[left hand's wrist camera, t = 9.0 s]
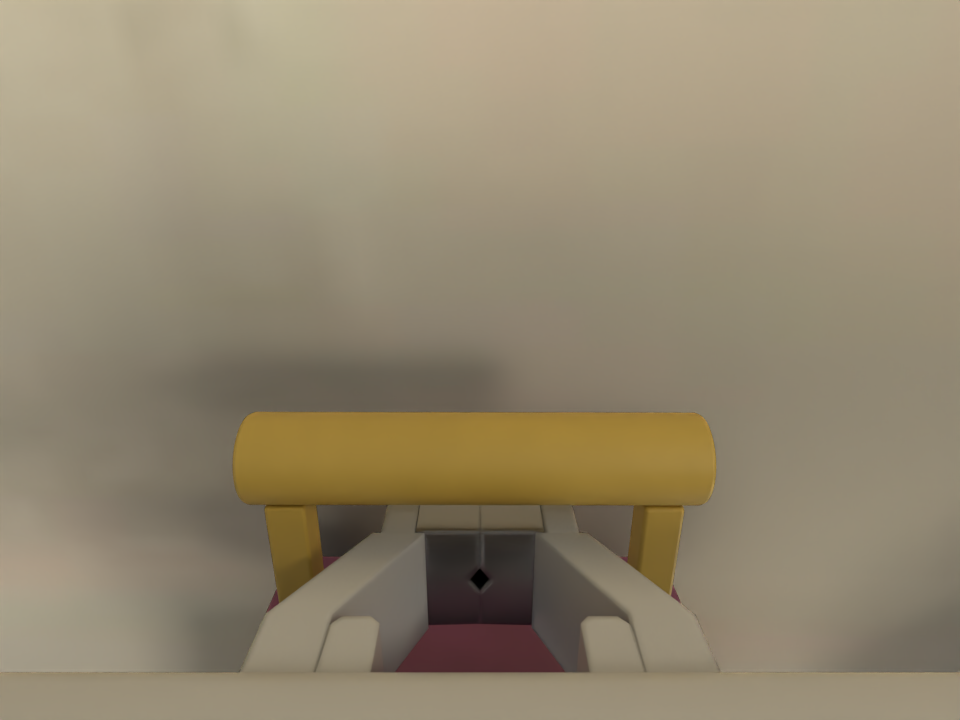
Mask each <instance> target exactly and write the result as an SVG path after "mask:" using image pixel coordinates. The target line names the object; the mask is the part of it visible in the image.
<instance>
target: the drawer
mask: <svg viewBox="0 0 960 720" xmlns="http://www.w3.org/2000/svg"><path fill="white" fill-rule="evenodd" d="M715 478H716V454H715V447H714V441H713V437H712V434H711V431H710V428H709V426H708V424H707V422H706V420H705V419H704V418H703V417H702V416H701V415H699V414H696V413H613V412H254V413H251V414H249V415H248V416H246V417H245V419H244V420H243V421H242V423H241V425H240V428H239V430H238V433H237V436H236V440H235V445H234V451H233V479H234V485H235V489H236V492H237V495H238V497H239V498H240V499H241V501H243V502H244V503H246V504H249V505H266V506H265V509H264V511H265V518H266V524H267V530H268V536H269V543H270V549H271V555H272V562H273V568H274V574H275V581H276V587H277V589H276V591H275V594H274V596H273V598H272V600H271V603H270V605H269V607H268V610H267V612H268V611H270V610H271V609H272V608H274V607H275V606H276V605H278V604H279V603H280V602H282V601H283V600H284V599H286V598H287V597H288V596H290V595H291V594H292V593H294V592H295V591H296V590H298V589H299V588H300V587H301V586H303V585H304V584H305V583H307V582H308V581H309V580H311V579H312V578H313V577H315V576H316V575H317V574H319V573H320V572H321V571H323V570H324V569H325V568H327V567H328V566H329V565H331V564H332V563H333V562H335V561H336V560H337V559H339V558H340V557H326V556H322V549H321V541H320V532H319V524H318V515H317V507H316V505H634V510H633V518H632V527H631V535H630V543H629V552H628V557H620V558H621V559H623V560H624V561H625V562H627V563H628V564H629V565H631V566H632V567H633V568H634V569H636V570H637V571H638V572H640V573H641V574H642V575H644V576H645V577H646V578H648V579H649V580H650V581H652V582H653V583H654V584H656V585H657V586H658V587H660V588H661V589H662V590H663V591H665V592H666V593H667V594H669V595H670V596H671V597H673V598H674V599H675V600H677V601H678V602H679V603H681V602H680V600H679V598H678V595H677V593H676V590H675V588H674V586H673V580H674V574H675V567H676V561H677V555H678V548H679V542H680V536H681V529H682V523H683V516H684V508H683V506H682V505H702V504H704V503H706V502H707V501H708V500H709V499H710V497H711V495H712V492H713V489H714V484H715ZM267 612H266V613H267ZM395 672H565V671H564V670H563V668H562V667H561V666H560V664H559V663H558V662H557V660H556V659H555V658H554V656H553V655H552V654H551V652H550V651H549V650H548V649H547V647H546V646H545V645H544V643H543V642H542V641H541V639H540V638H539V637H538V635H537V634H536V633H535V632H534V630H533V629H532V625H504V624H455V625H428V630H427V631H426V632H425V633H424V635H423V636H422V637H421V639H420V640H419V641H418V643H417V644H416V645H415V646H414V648H413V649H412V650H411V652H410V653H409V654H408V656H407V657H406V658H405V659H404V661H403V662H402V663H401V665H400V666H399V667H398V669H397V670H396V671H395Z"/></svg>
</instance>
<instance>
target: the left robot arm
mask: <svg viewBox="0 0 960 720" xmlns="http://www.w3.org/2000/svg"><path fill="white" fill-rule="evenodd" d="M455 624H504V625H532V629H533V630H534V632H535V633H536V634H537V635H538V637H539V638H540V639H541V641H542V642H543V643H544V645H545V646H546V647H547V649H548V650H549V651H550V652H551V654H552V655H553V656H554V658H555V659H556V660H557V662H558V663H559V664H560V666H561V667H562V668H563V670H564V671H565V672H395V671H396V670H397V669H398V667H399V666H400V665H401V663H402V662H403V661H404V659H405V658H406V657H407V656H408V654H409V653H410V652H411V650H412V649H413V648H414V646H415V645H416V644H417V643H418V641H419V640H420V639H421V637H422V636H423V635H424V633H425V632H426V631H427V630H428V625H455ZM0 720H960V672H720V669H719V667H718V665H717V662H716V660H715V658H714V656H713V653H712V651H711V649H710V647H709V644H708V642H707V640H706V638H705V635H704V633H703V631H702V629H701V626H700V624H699V622H698V619H697V617H696V615H695V614H694V613H692V612H691V611H690V610H689V609H687V608H686V607H685V606H683V605H682V604H681V603H679V602H678V601H677V600H675V599H674V598H673V597H671V596H670V595H669V594H667V593H666V592H665V591H663V590H662V589H661V588H660V587H658V586H657V585H656V584H654V583H653V582H652V581H650V580H649V579H648V578H646V577H645V576H644V575H642V574H641V573H640V572H638V571H637V570H636V569H634V568H633V567H632V566H631V565H629V564H628V563H627V562H625V561H624V560H623V559H621V558H620V557H619V556H617V555H616V554H615V553H613V552H612V551H611V550H609V549H608V548H607V547H606V546H604V545H603V544H602V543H600V542H599V541H598V540H596V539H595V538H594V537H592V536H591V535H590V534H588V533H579V530H578V526H577V522H576V518H575V514H574V510H573V506H572V505H388V506H387V510H386V514H385V518H384V522H383V526H382V530H381V533H372V534H370V535H369V536H368V537H366V538H365V539H364V540H362V541H361V542H360V543H358V544H357V545H356V546H354V547H353V548H352V549H350V550H349V551H348V552H347V553H345V554H344V555H343V556H341V557H340V558H339V559H337V560H336V561H335V562H333V563H332V564H331V565H329V566H328V567H327V568H325V569H324V570H323V571H321V572H320V573H319V574H317V575H316V576H315V577H313V578H312V579H311V580H309V581H308V582H307V583H305V584H304V585H303V586H301V587H300V588H299V589H298V590H296V591H295V592H294V593H292V594H291V595H290V596H288V597H287V598H286V599H284V600H283V601H282V602H280V603H279V604H278V605H276V606H275V607H274V608H272V609H271V610H270V611H268V612H267V613H266V614H265V616H264V618H263V620H262V622H261V625H260V627H259V629H258V631H257V634H256V636H255V638H254V640H253V642H252V645H251V647H250V649H249V651H248V654H247V656H246V658H245V660H244V663H243V665H242V667H241V669H240V671H239V672H0Z"/></svg>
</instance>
